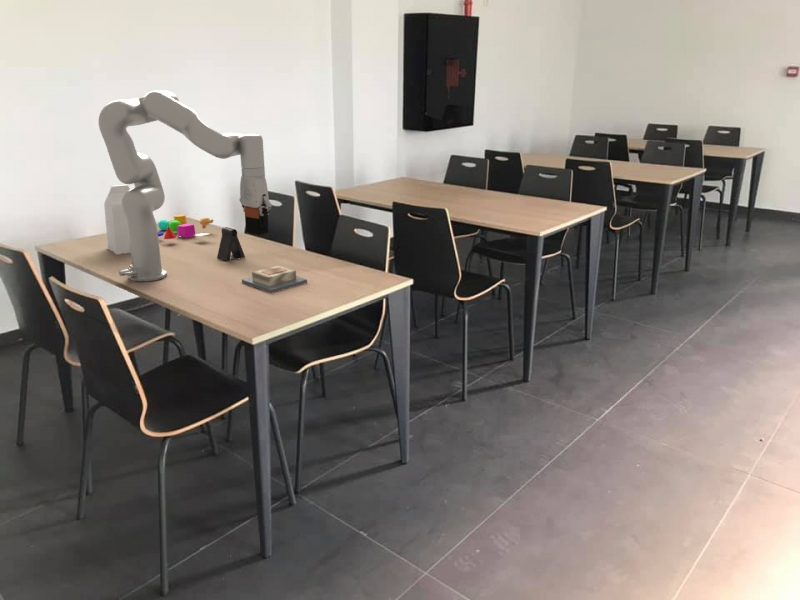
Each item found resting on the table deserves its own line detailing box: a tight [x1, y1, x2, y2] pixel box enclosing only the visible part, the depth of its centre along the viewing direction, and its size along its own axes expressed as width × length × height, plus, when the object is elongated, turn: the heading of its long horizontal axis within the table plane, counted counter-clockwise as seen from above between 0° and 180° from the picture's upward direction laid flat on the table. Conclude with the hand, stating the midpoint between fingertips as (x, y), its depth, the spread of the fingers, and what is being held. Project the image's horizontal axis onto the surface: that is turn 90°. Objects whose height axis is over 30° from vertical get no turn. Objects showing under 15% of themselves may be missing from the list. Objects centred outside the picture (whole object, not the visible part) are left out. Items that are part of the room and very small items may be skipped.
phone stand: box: [216, 226, 246, 262], centre depth 247 cm, size 9×6×12 cm, turn 140°
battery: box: [244, 205, 269, 236], centre depth 214 cm, size 4×7×10 cm, turn 56°
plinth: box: [251, 264, 297, 286], centre depth 220 cm, size 12×9×3 cm
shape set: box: [157, 214, 214, 240], centre depth 279 cm, size 29×35×7 cm
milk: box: [103, 184, 131, 255], centre depth 253 cm, size 12×12×26 cm
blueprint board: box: [241, 275, 308, 294], centre depth 221 cm, size 16×16×1 cm
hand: (256, 224), depth 214 cm, fingers closed on battery, 7 cm apart
